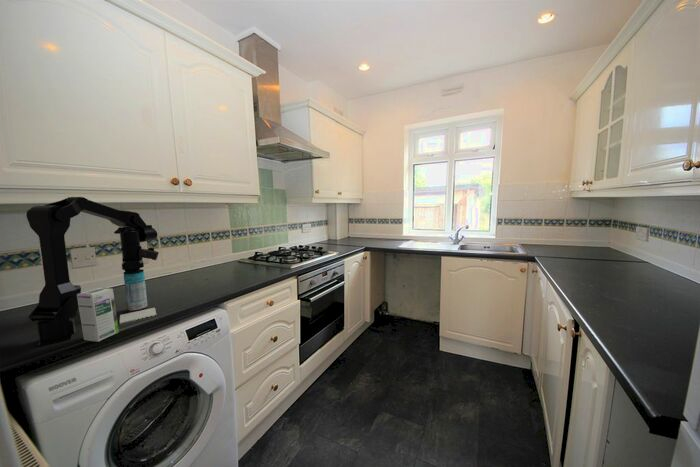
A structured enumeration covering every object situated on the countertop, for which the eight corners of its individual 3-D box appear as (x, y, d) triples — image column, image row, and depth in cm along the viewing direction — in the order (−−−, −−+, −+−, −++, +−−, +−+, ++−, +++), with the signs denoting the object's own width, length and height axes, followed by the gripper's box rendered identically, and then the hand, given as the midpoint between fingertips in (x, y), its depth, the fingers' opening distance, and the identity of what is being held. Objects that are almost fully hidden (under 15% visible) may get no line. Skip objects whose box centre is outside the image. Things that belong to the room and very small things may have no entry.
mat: (119, 323, 87) (119, 322, 87) (120, 316, 93) (120, 315, 93) (156, 315, 93) (156, 314, 93) (154, 308, 99) (154, 307, 99)
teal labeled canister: (146, 305, 103) (142, 268, 101) (149, 309, 99) (144, 271, 97) (126, 309, 99) (122, 271, 97) (128, 314, 95) (124, 274, 93)
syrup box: (98, 342, 75) (92, 294, 74) (82, 340, 77) (76, 293, 75) (119, 332, 81) (113, 287, 79) (104, 331, 82) (98, 286, 80)
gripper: (158, 244, 100) (161, 283, 102) (154, 239, 114) (157, 274, 116) (119, 247, 93) (124, 289, 95) (120, 242, 107) (124, 279, 109)
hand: (134, 282), depth 104 cm, fingers closed
